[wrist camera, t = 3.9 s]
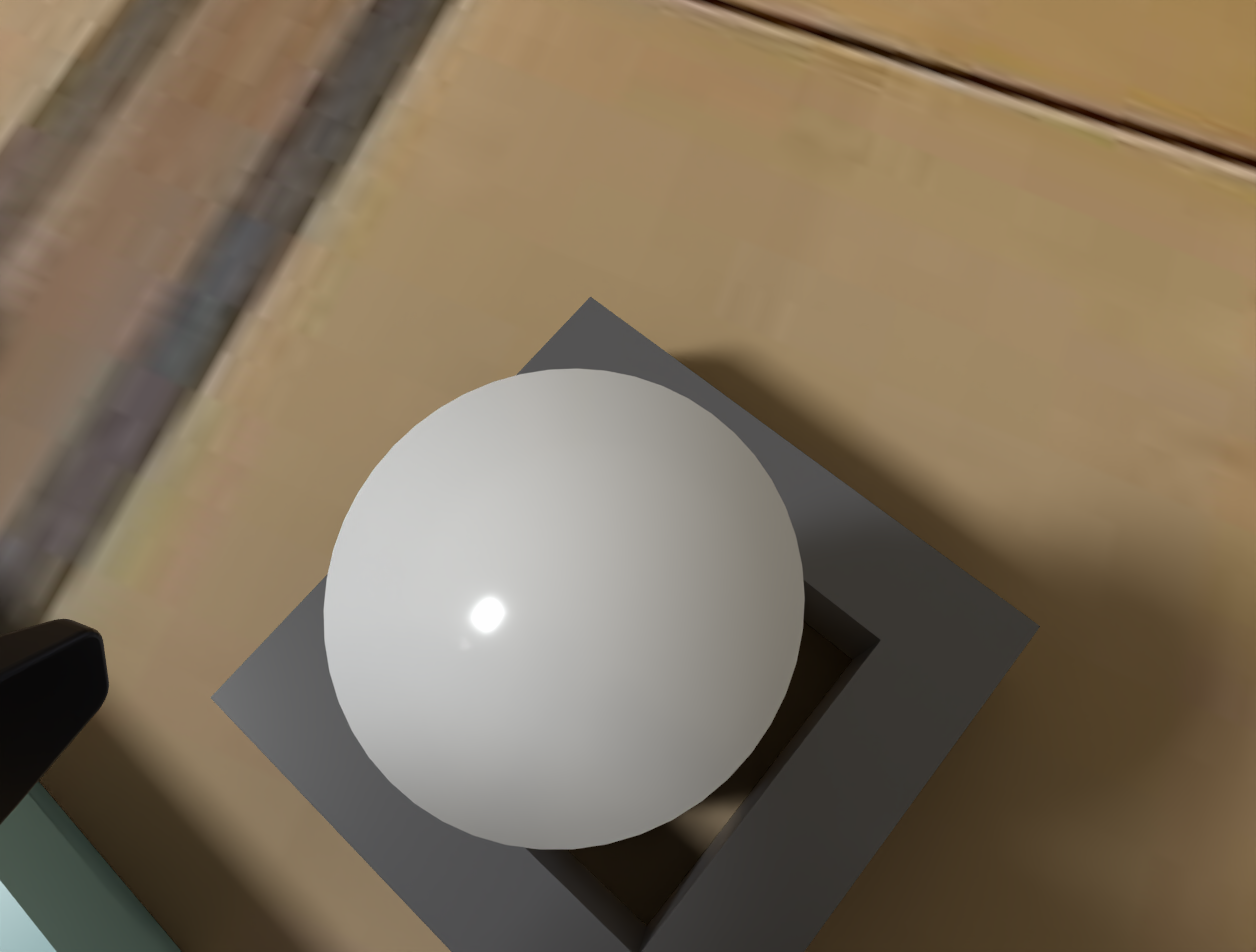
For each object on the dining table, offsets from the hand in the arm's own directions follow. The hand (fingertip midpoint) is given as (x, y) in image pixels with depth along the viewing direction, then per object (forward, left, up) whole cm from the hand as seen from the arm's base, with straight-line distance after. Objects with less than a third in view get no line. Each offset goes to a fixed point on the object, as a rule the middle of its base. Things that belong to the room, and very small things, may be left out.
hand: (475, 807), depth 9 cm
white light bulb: (+1, -2, -10) cm, 10 cm away
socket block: (+1, -2, -10) cm, 10 cm away
